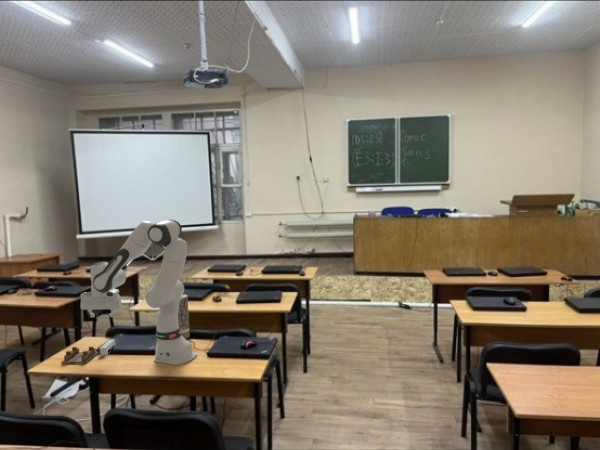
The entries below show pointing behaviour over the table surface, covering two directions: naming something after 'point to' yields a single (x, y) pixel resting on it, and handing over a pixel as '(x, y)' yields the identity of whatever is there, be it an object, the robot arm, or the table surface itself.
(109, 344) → the grey strip
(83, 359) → the drying rack
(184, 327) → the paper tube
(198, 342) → the table surface
